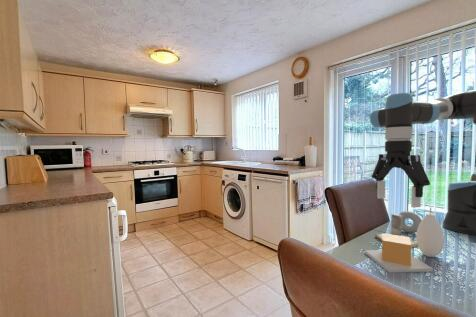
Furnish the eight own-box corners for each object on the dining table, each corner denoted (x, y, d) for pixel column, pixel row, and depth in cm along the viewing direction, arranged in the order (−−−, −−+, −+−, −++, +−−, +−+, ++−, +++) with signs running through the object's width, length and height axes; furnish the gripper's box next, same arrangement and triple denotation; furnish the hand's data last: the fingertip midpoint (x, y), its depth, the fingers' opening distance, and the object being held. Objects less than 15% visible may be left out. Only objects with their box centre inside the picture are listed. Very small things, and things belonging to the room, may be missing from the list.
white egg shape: (447, 262, 81) (448, 210, 80) (418, 258, 84) (419, 208, 84) (439, 253, 88) (441, 205, 87) (413, 249, 91) (415, 203, 91)
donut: (422, 234, 108) (423, 212, 107) (421, 236, 105) (422, 214, 105) (396, 229, 114) (396, 208, 114) (395, 231, 112) (395, 210, 111)
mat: (401, 252, 89) (401, 249, 89) (432, 271, 75) (432, 268, 75) (364, 253, 89) (364, 250, 89) (389, 272, 75) (389, 269, 75)
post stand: (399, 236, 105) (400, 211, 105) (419, 246, 94) (419, 218, 94) (375, 236, 105) (375, 211, 104) (392, 247, 94) (392, 219, 93)
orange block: (410, 266, 77) (411, 245, 76) (381, 260, 81) (382, 240, 81) (409, 256, 83) (409, 237, 83) (382, 251, 88) (382, 233, 87)
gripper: (446, 138, 69) (444, 210, 70) (378, 141, 93) (377, 194, 94) (425, 138, 67) (424, 212, 68) (361, 141, 92) (361, 195, 93)
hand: (397, 202), depth 81 cm, fingers open, 13 cm apart
